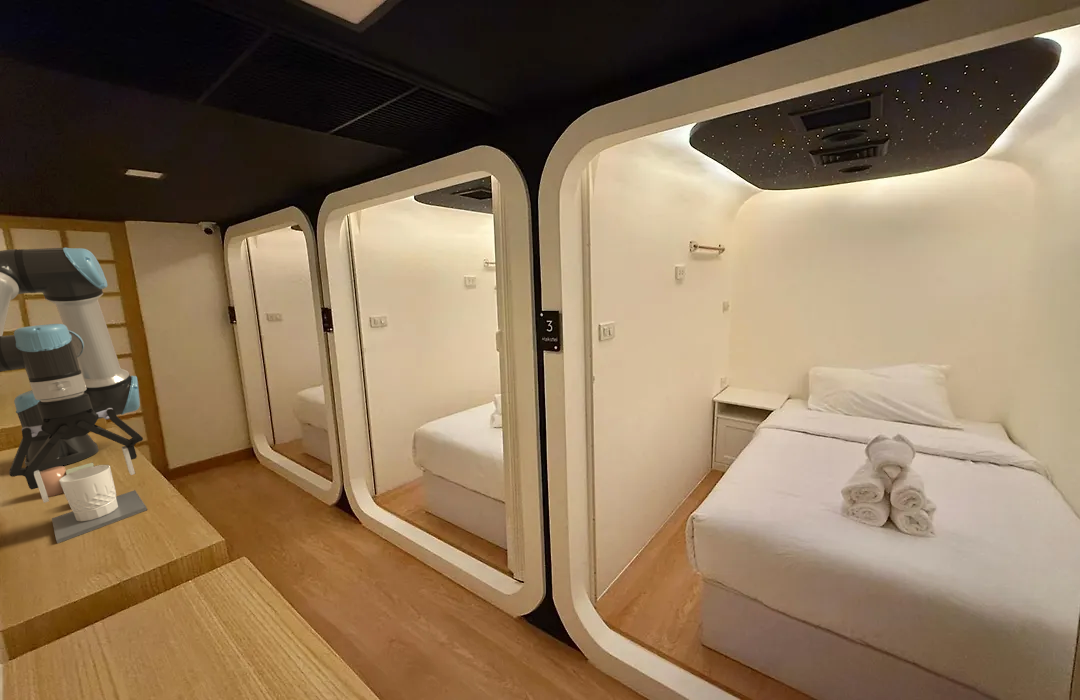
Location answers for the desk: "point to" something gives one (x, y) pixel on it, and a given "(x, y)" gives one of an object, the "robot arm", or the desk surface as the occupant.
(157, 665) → the desk surface
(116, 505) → the white cup
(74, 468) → the sage block
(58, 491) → the copper rounded block
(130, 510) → the coaster
